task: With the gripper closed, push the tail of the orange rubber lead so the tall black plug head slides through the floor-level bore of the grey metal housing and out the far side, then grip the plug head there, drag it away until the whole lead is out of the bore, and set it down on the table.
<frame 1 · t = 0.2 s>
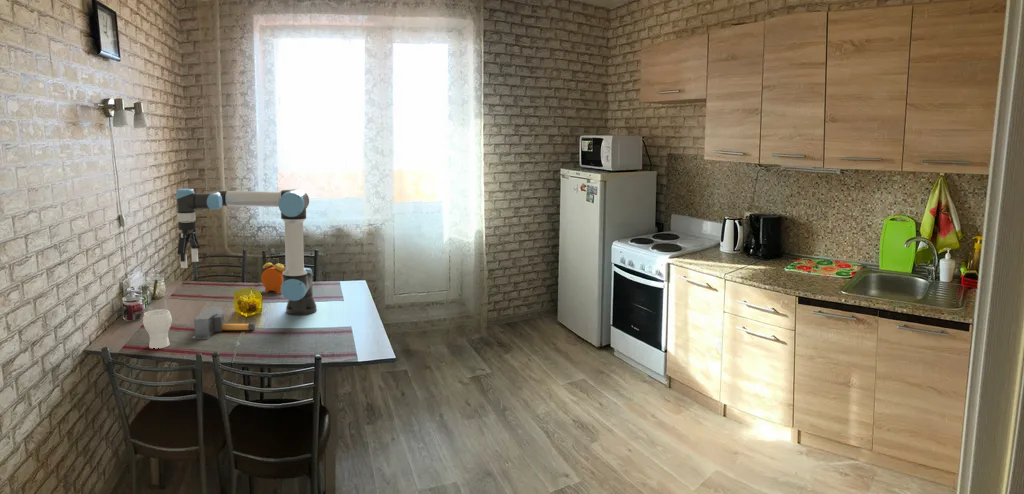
hand: (189, 264, 295), 28 cm above the table, fingers open, 13 cm apart
housing: (209, 330, 286), on the table
alarm clock: (274, 292, 354), on the table
plug: (218, 330, 287), on the table
cup: (159, 346, 265), on the table
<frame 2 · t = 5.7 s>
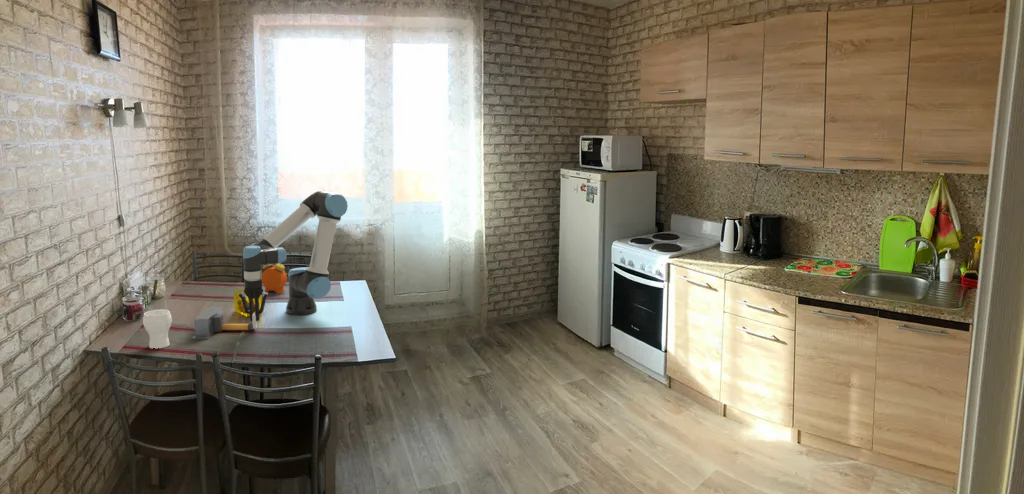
hand: (255, 327, 289), 1 cm above the table, fingers closed
plug: (218, 330, 287), on the table, touching gripper
everything else where it was.
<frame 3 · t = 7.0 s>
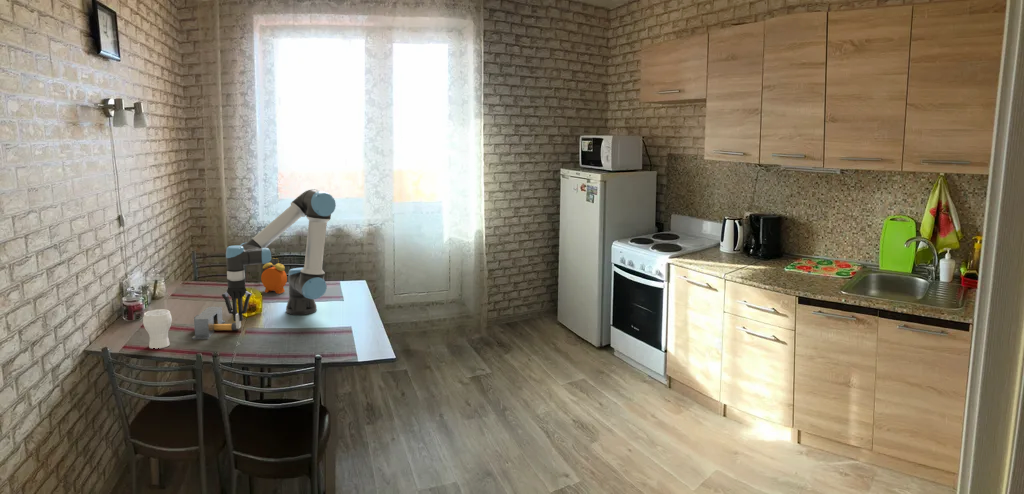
hand: (238, 327, 288), 1 cm above the table, fingers closed
plug: (201, 330, 285), on the table, touching gripper
everything else where it was.
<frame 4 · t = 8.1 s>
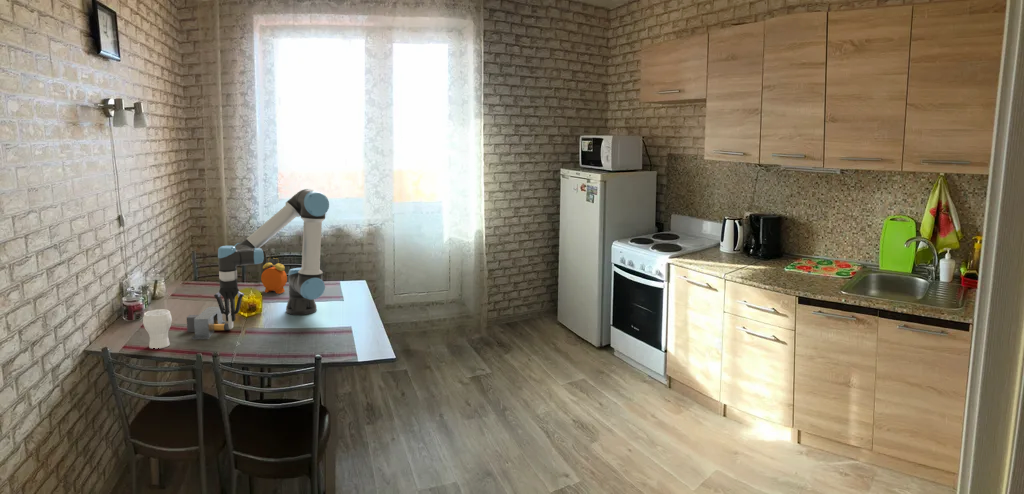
hand: (231, 327, 287), 1 cm above the table, fingers closed
plug: (193, 330, 285), on the table, touching gripper
everything else where it was.
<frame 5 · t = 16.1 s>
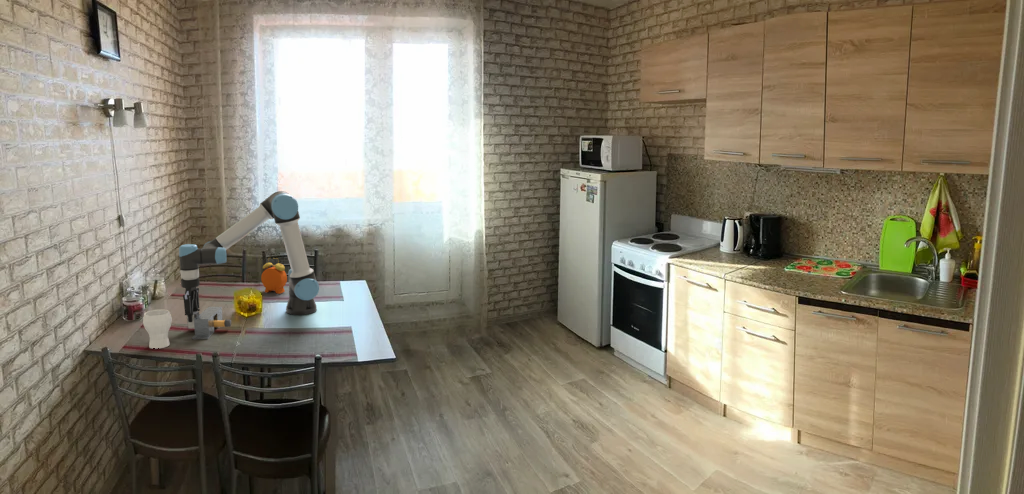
hand: (193, 326, 285), 2 cm above the table, fingers closed on plug, 4 cm apart
plug: (194, 327, 285), point 2 cm above the table, touching gripper
everything else where it was.
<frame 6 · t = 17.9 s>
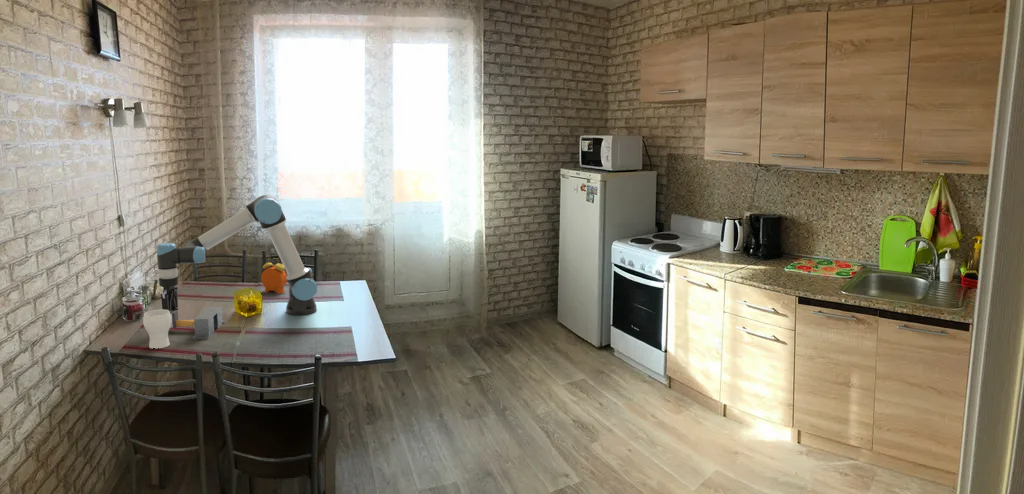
hand: (171, 325, 283), 2 cm above the table, fingers closed on plug, 4 cm apart
plug: (172, 326, 283), point 2 cm above the table, touching gripper
everything else where it was.
when the fingers open (0 cm above the table, at t = 20.0 s): plug stays where it is, on the table.
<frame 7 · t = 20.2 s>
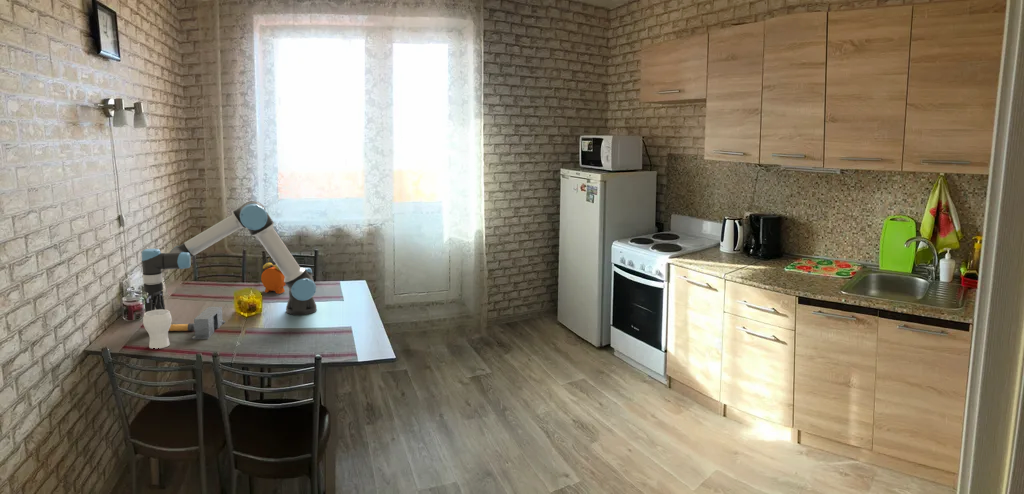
hand: (156, 330, 283), 0 cm above the table, fingers open, 8 cm apart
plug: (157, 330, 283), on the table
everything else where it was.
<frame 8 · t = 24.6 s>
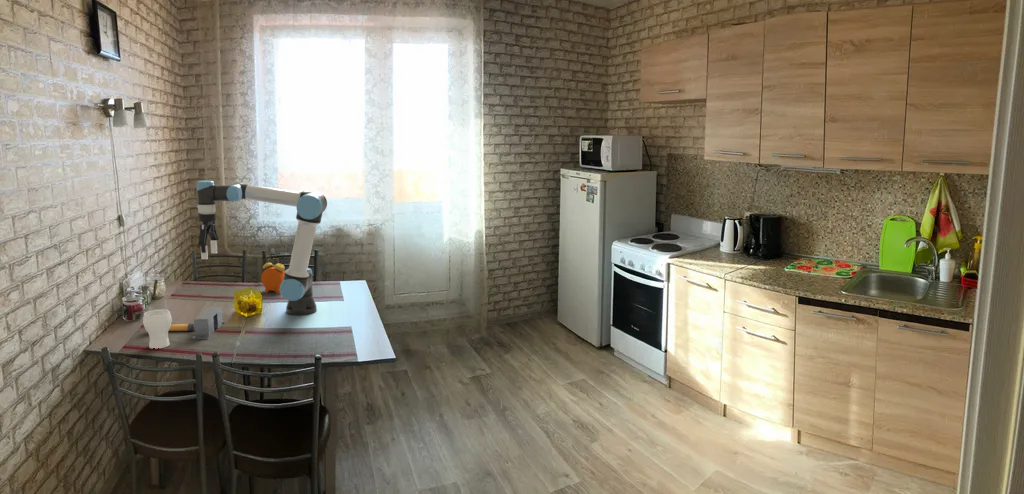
hand: (209, 256, 297), 32 cm above the table, fingers open, 13 cm apart
nothing on the table moved.
at the end: plug inside the target area (1.6 cm from its centre), on the table; plug touching table; the gripper is holding nothing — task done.
